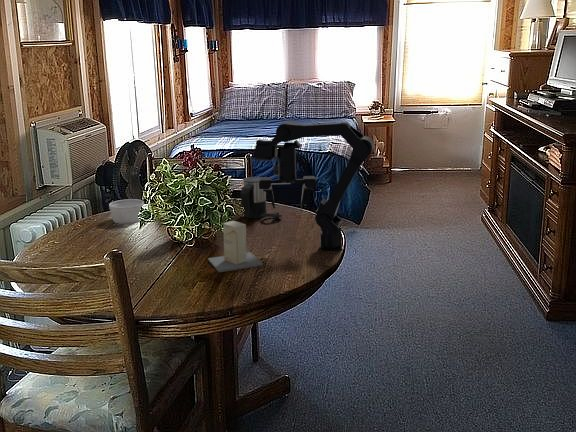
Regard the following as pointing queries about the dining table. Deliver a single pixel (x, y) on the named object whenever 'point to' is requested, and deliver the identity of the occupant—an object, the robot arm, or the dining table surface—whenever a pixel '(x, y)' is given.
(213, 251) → the dining table surface
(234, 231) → the skincare box
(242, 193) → the milk frother
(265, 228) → the dining table surface
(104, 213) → the dining table surface
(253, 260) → the slate mat
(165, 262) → the dining table surface
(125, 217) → the white bowl
